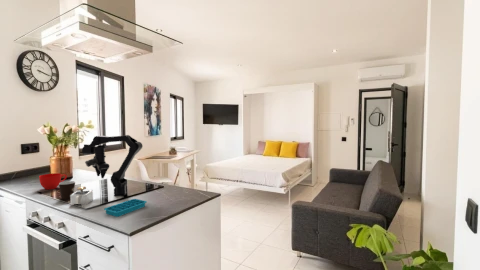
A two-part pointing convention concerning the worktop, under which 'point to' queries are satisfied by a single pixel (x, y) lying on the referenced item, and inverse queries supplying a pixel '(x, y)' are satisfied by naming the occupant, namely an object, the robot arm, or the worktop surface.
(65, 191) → the coffee mug
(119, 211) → the ice cube tray
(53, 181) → the ceramic cup
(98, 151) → the robot arm
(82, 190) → the plunger
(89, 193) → the press body
